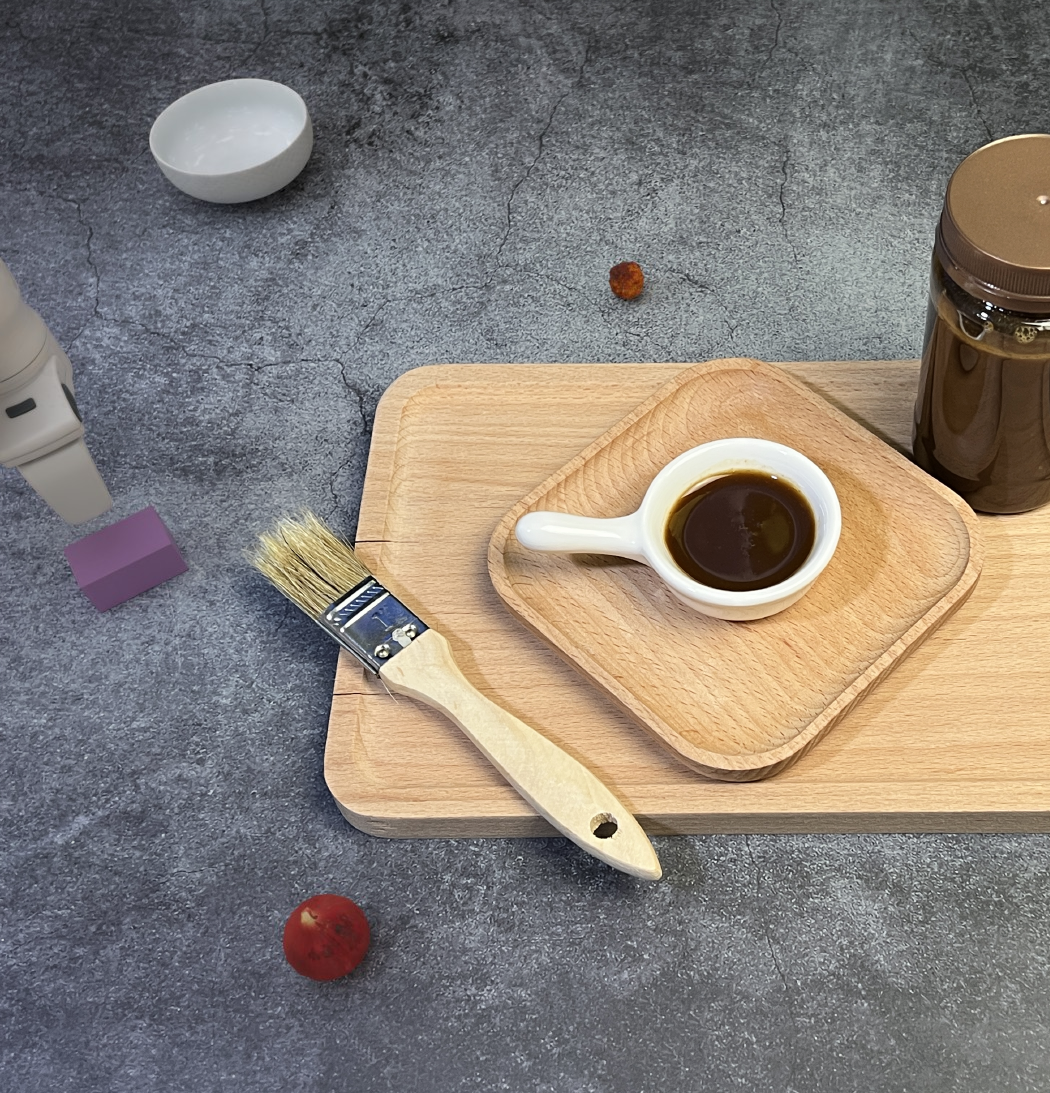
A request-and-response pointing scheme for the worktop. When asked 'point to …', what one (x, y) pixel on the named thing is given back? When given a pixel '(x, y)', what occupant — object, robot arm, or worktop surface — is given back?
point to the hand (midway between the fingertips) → (85, 478)
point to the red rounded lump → (326, 937)
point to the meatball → (626, 279)
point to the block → (125, 559)
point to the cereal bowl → (233, 140)
